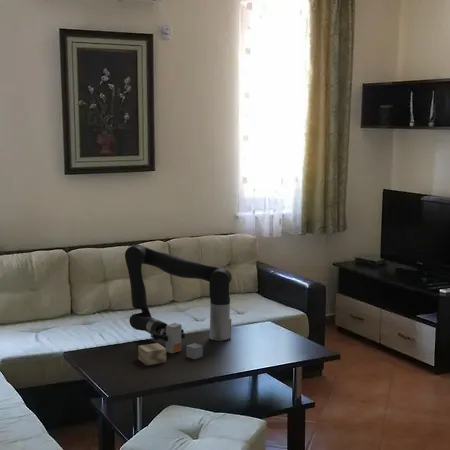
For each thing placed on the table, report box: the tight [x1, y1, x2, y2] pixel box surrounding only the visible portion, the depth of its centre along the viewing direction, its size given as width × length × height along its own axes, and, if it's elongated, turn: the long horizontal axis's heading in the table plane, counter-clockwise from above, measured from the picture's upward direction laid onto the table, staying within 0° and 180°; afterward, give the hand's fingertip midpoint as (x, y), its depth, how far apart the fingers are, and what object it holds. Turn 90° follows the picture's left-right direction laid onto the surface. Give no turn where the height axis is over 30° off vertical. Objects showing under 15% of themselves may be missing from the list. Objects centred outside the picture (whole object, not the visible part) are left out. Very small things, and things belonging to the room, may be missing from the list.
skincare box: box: [165, 322, 183, 354], centre depth 304 cm, size 6×4×12 cm
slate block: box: [185, 342, 204, 360], centre depth 298 cm, size 5×5×5 cm
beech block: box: [137, 342, 167, 366], centre depth 292 cm, size 9×9×6 cm
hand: (175, 337), depth 302 cm, fingers open, 8 cm apart
